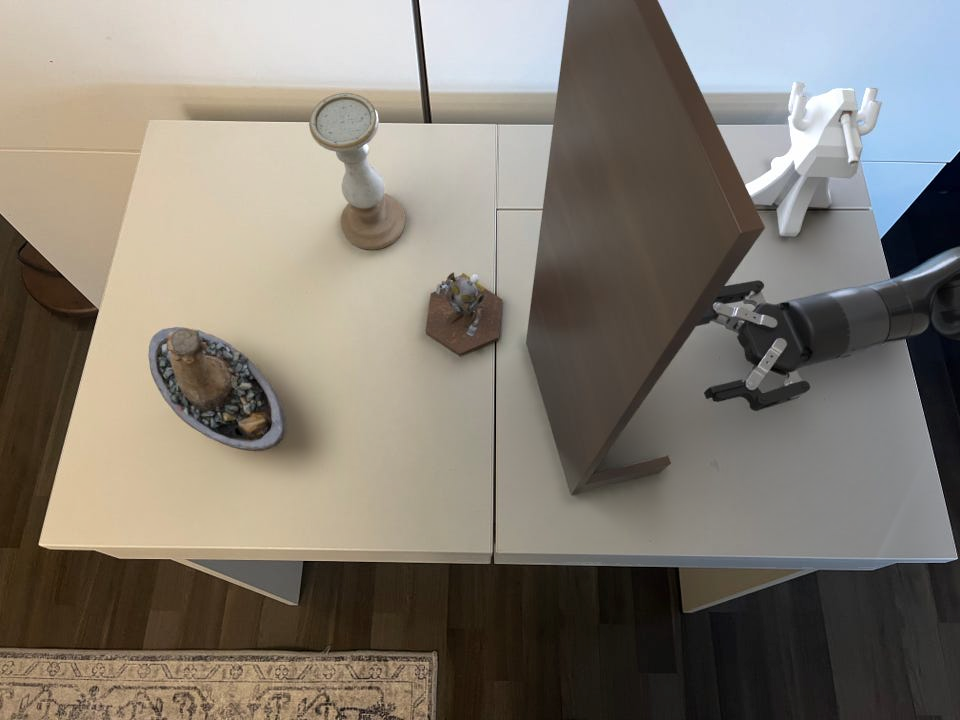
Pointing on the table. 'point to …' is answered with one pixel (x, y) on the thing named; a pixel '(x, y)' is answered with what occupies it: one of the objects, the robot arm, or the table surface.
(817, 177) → the toy gun turret
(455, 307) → the robot figurine
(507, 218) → the table surface
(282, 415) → the planter
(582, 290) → the shelf
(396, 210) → the candle holder
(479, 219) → the table surface
